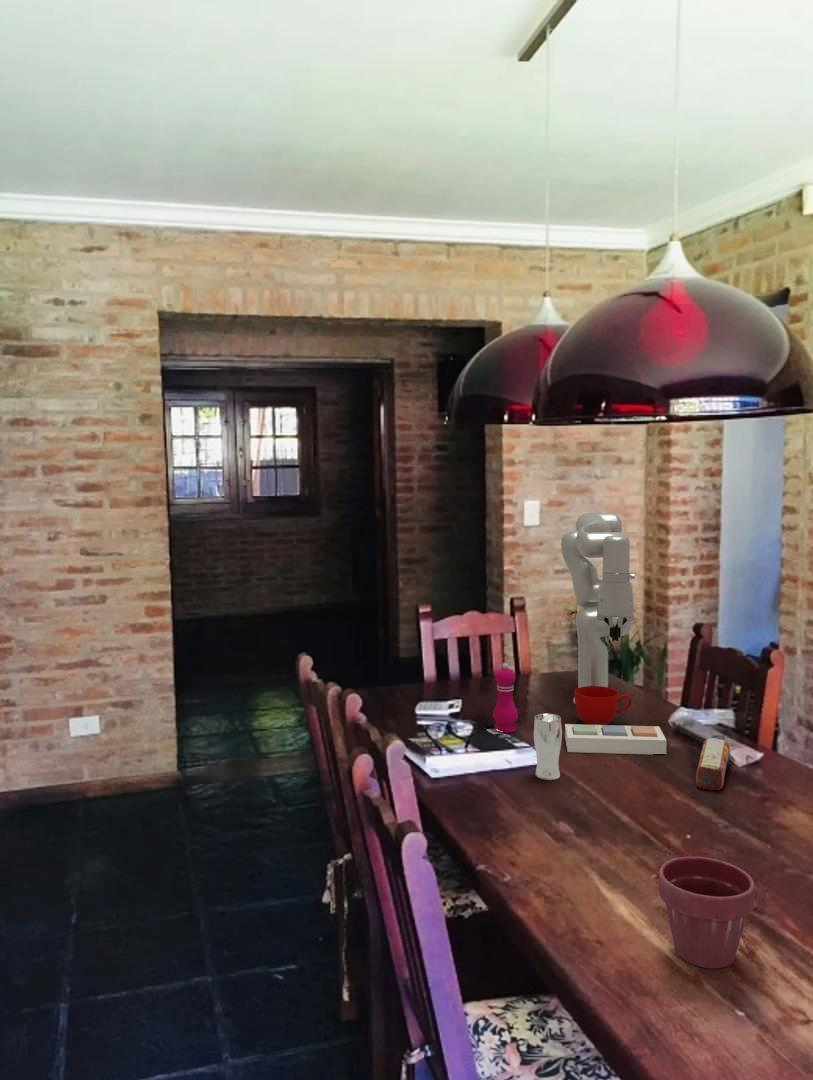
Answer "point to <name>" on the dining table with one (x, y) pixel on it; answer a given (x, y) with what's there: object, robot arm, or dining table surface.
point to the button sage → (584, 730)
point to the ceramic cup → (598, 704)
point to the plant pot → (706, 908)
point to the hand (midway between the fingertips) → (614, 639)
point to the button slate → (613, 730)
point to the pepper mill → (505, 701)
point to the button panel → (615, 742)
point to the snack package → (712, 764)
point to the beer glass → (547, 745)
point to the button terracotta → (643, 731)
